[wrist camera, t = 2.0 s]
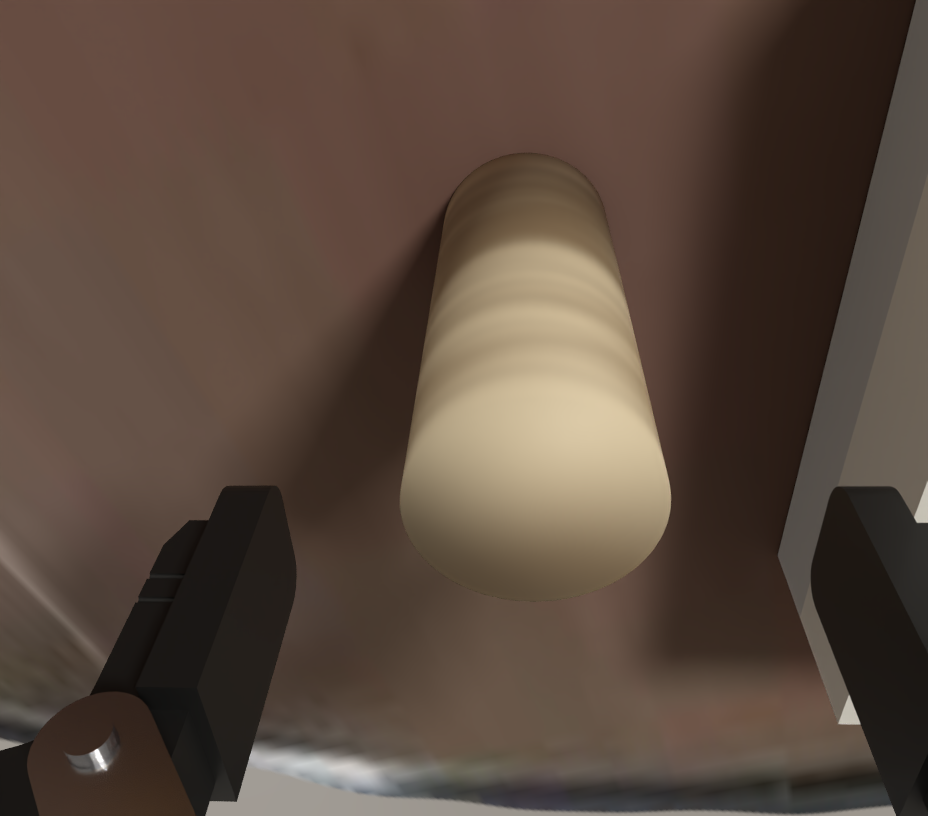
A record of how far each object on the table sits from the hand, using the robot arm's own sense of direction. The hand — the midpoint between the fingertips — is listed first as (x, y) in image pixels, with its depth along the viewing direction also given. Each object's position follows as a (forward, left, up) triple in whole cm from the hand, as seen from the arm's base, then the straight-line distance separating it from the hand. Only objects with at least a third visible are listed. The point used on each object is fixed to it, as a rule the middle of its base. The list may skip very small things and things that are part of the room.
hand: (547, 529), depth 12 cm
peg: (0, 0, -10) cm, 10 cm away
